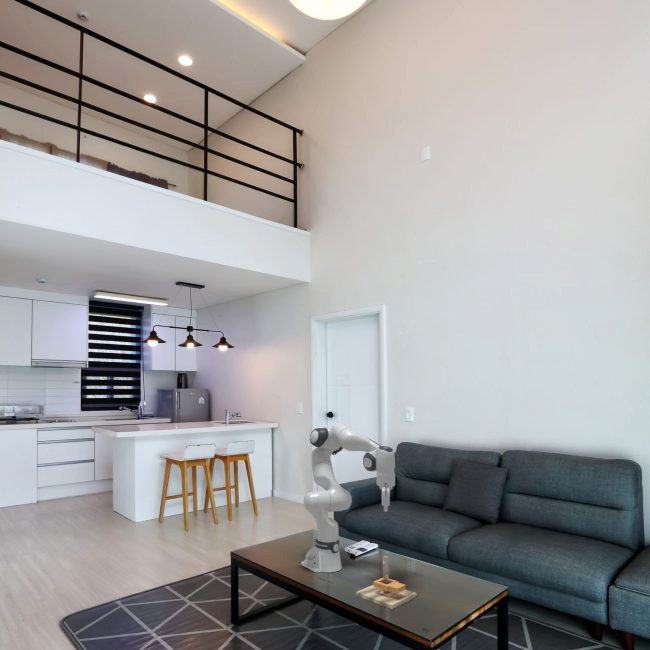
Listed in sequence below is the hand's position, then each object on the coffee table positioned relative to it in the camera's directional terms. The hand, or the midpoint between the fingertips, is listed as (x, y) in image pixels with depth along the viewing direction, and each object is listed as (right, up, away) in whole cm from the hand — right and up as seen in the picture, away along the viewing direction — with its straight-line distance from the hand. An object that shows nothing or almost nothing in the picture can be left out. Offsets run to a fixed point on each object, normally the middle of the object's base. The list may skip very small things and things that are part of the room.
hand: (385, 510), depth 239 cm
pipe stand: (-2, -32, -16) cm, 36 cm away
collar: (0, -28, -17) cm, 32 cm away
